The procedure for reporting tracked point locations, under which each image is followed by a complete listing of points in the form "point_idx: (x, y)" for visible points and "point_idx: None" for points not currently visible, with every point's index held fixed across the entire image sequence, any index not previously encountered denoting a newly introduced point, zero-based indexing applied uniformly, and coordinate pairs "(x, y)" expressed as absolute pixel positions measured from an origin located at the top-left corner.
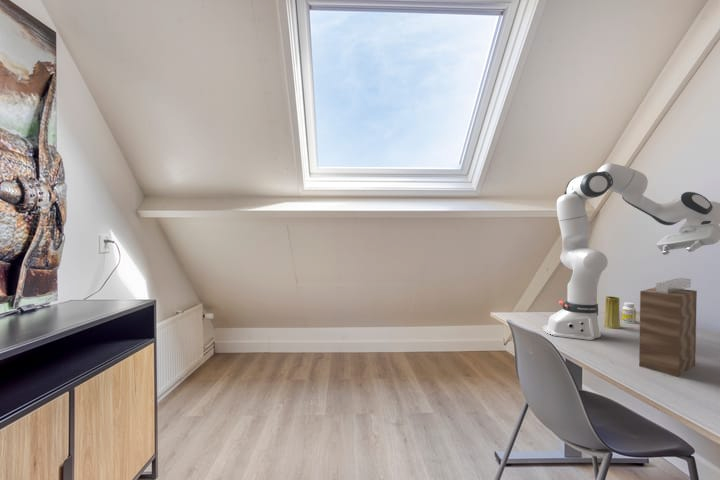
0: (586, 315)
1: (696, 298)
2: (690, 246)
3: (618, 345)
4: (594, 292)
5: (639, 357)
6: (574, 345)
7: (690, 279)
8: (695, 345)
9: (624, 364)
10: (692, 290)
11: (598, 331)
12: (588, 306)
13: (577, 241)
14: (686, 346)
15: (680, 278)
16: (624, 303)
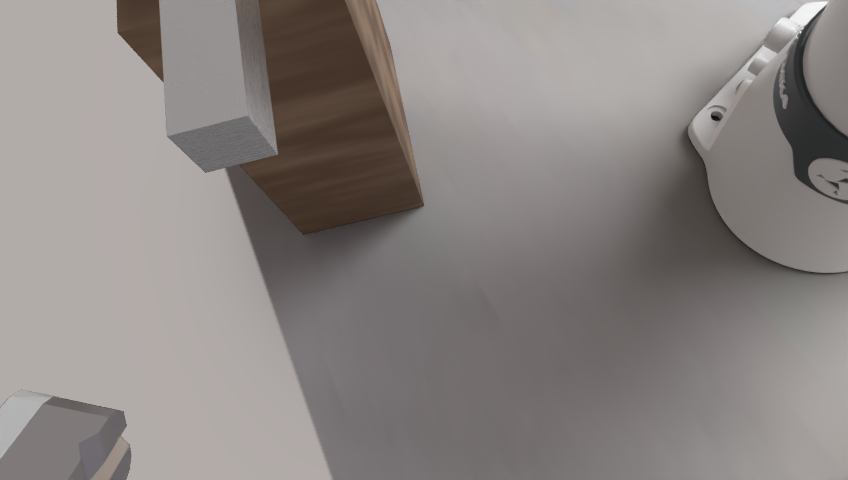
0: (778, 68)
1: (149, 65)
2: (9, 451)
3: (586, 184)
4: (845, 12)
5: (382, 21)
6: (648, 3)
7: (170, 132)
8: (271, 198)
9: (420, 11)
10: (137, 21)
11: (734, 194)
12: (797, 38)
13: None
14: None
15: (221, 73)
16: None
